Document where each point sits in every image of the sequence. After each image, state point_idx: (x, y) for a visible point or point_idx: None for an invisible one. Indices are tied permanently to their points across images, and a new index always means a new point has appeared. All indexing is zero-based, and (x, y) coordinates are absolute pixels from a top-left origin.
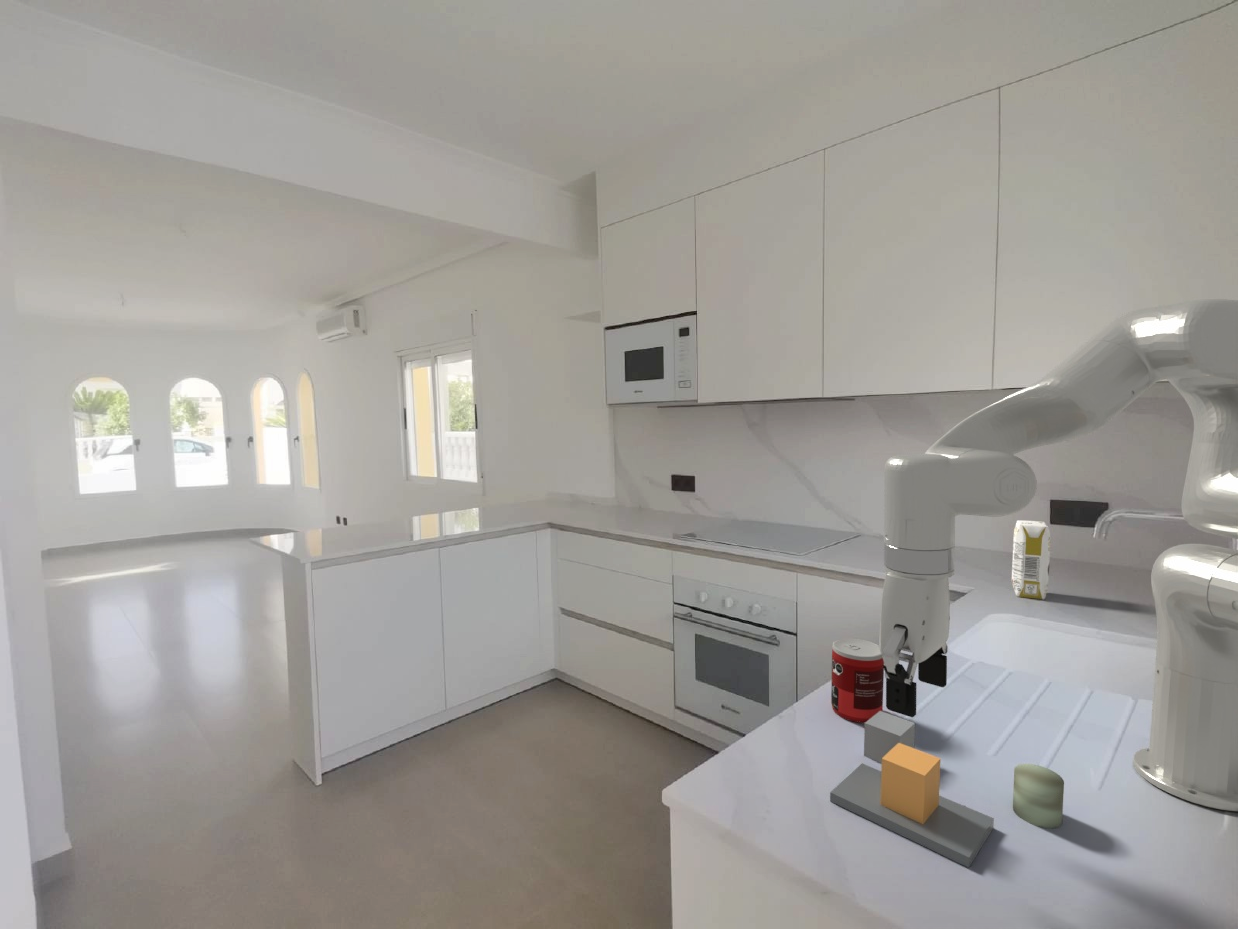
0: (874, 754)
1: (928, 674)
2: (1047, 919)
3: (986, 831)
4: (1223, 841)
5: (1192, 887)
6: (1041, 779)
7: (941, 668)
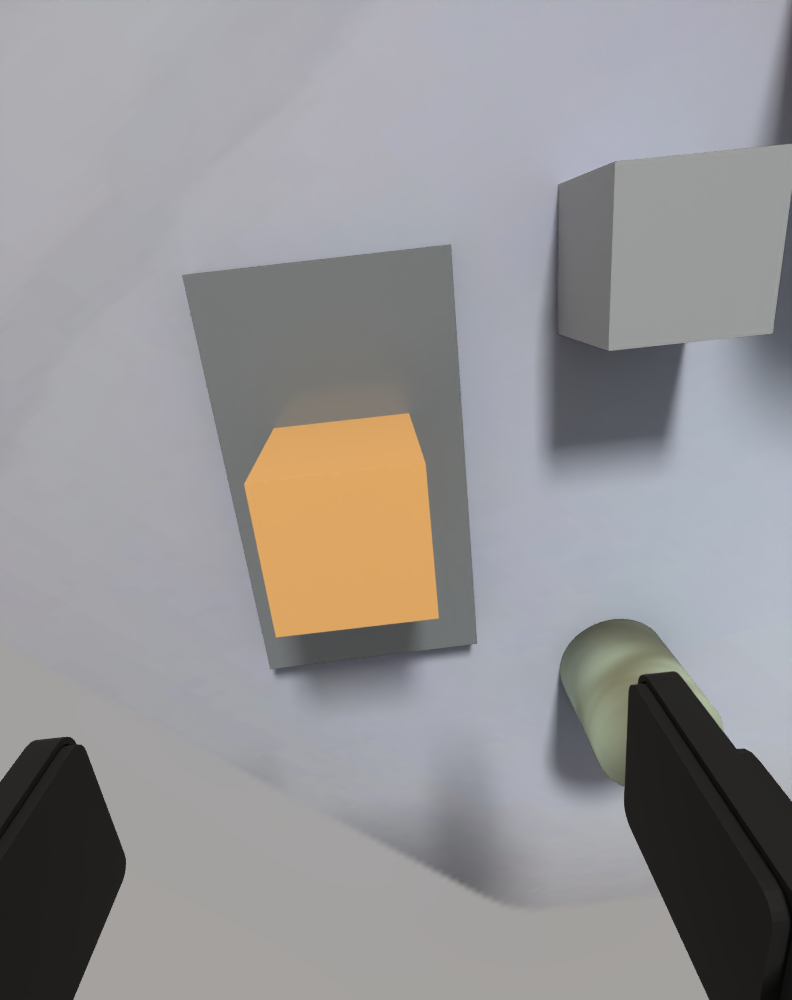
0: (565, 231)
1: (656, 791)
2: (264, 781)
3: (411, 649)
4: None
5: (568, 875)
6: None
7: (691, 945)
